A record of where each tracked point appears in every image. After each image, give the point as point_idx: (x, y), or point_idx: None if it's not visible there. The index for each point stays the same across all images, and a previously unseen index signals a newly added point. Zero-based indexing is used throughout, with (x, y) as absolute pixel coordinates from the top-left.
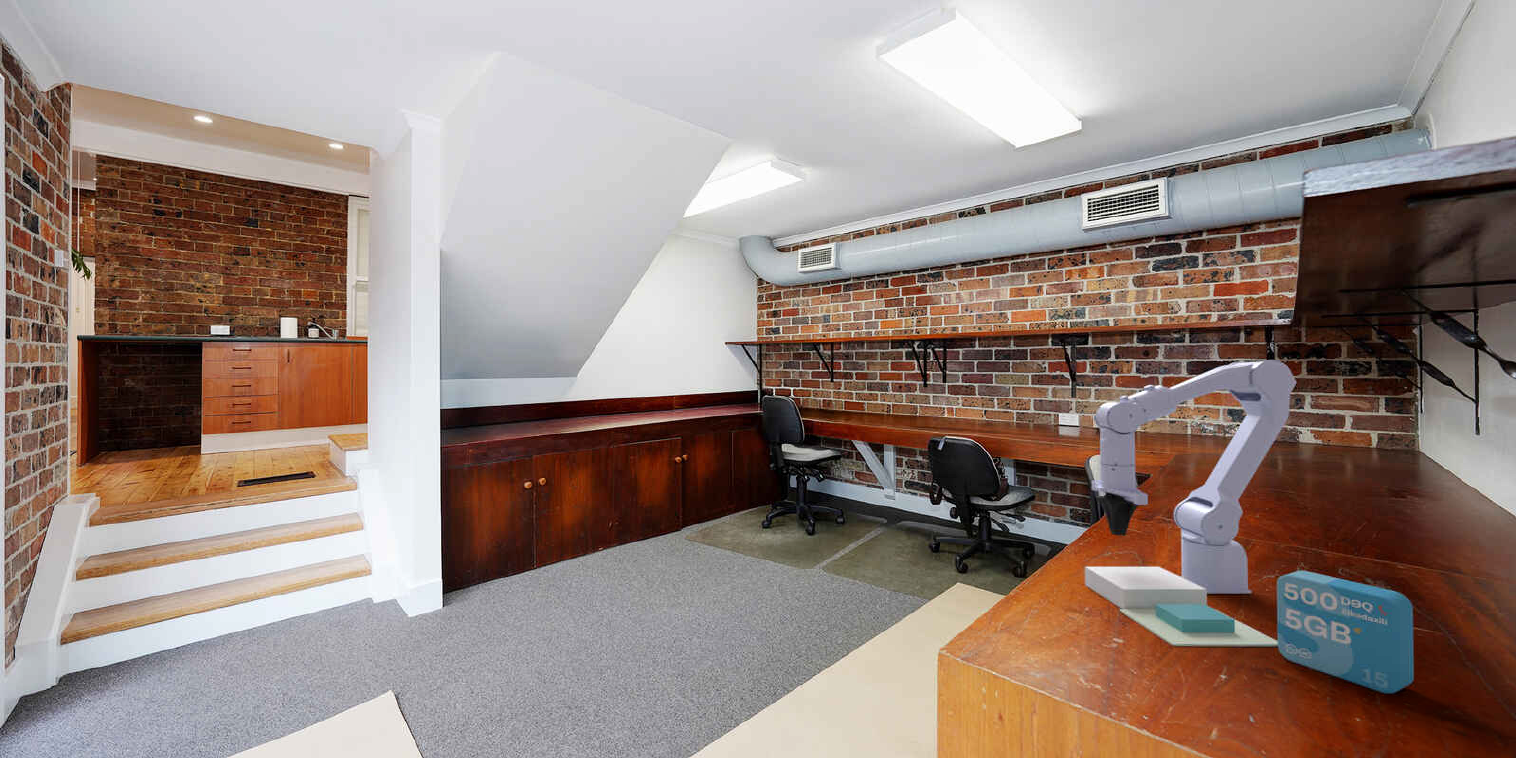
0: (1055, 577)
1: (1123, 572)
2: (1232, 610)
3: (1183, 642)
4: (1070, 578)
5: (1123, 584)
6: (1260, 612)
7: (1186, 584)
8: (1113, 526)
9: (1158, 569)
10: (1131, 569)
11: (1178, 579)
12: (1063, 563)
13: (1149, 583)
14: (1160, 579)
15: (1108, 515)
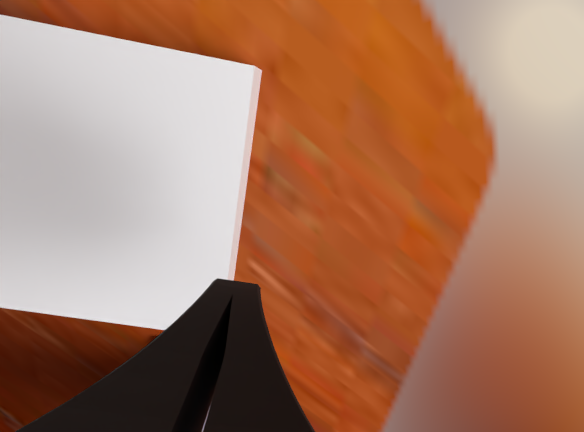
0: (364, 8)
1: (164, 178)
2: (48, 322)
3: None
4: (339, 67)
5: (4, 56)
6: (42, 363)
7: (36, 286)
8: (196, 305)
9: None
10: (199, 235)
11: (88, 300)
12: (488, 167)
13: (33, 177)
14: (83, 247)
15: (228, 366)
